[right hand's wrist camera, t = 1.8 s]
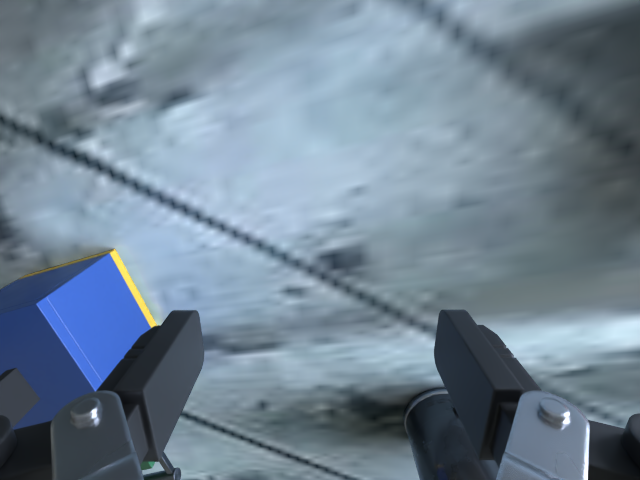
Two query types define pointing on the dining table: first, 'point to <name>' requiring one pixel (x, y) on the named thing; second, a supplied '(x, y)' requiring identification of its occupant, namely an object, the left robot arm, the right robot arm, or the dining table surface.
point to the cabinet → (69, 329)
